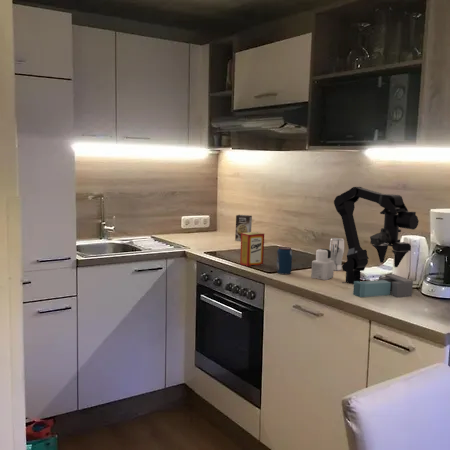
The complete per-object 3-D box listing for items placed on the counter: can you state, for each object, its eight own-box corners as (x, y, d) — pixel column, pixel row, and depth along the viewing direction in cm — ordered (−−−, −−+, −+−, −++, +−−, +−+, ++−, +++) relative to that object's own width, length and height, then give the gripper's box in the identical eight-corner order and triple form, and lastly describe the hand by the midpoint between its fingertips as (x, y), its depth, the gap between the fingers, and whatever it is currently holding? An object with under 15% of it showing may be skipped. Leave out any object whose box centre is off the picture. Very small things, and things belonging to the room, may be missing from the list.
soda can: (294, 273, 254) (295, 247, 253) (285, 275, 249) (287, 249, 247) (281, 270, 259) (282, 245, 257) (273, 272, 253) (274, 247, 252)
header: (378, 292, 222) (379, 274, 221) (392, 291, 225) (393, 274, 224) (396, 300, 211) (398, 281, 210) (411, 298, 213) (412, 280, 213)
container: (317, 274, 252) (318, 247, 250) (333, 277, 248) (334, 249, 246) (310, 277, 246) (312, 249, 244) (327, 280, 241) (328, 251, 240)
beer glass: (325, 269, 265) (327, 238, 263) (332, 267, 270) (334, 237, 268) (338, 271, 261) (340, 240, 259) (345, 269, 266) (347, 239, 264)
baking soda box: (247, 266, 267) (248, 234, 264) (240, 263, 272) (241, 232, 270) (263, 264, 272) (264, 233, 270) (255, 262, 277) (256, 231, 275)
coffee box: (234, 240, 344) (235, 215, 342) (237, 239, 350) (238, 214, 348) (248, 241, 342) (249, 216, 340) (251, 240, 348) (252, 215, 346)
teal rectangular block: (353, 294, 214) (353, 281, 213) (383, 292, 219) (383, 279, 218) (359, 297, 209) (360, 284, 209) (390, 295, 214) (391, 282, 214)
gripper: (360, 223, 222) (358, 261, 224) (389, 230, 205) (386, 270, 207) (383, 223, 226) (380, 260, 228) (413, 229, 209) (410, 269, 211)
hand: (388, 264), depth 219 cm, fingers open, 9 cm apart
